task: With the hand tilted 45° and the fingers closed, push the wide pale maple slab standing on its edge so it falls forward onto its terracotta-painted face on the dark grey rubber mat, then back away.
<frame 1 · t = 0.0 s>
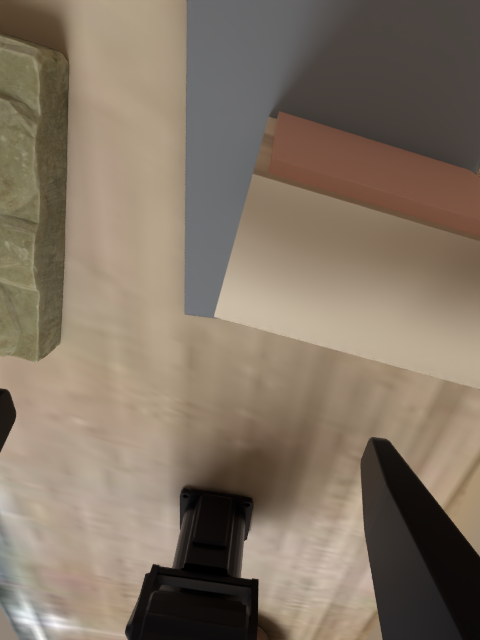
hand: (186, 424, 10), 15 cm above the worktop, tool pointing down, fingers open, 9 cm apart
maple block: (350, 193, 21), resting on rubber mat
rubber mat: (333, 129, 19), on the worktop
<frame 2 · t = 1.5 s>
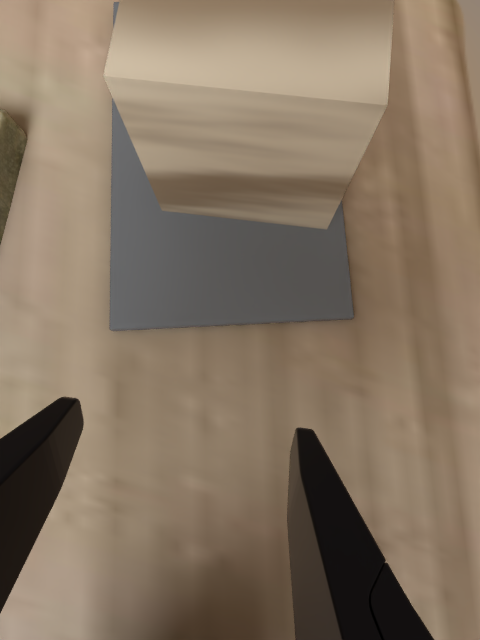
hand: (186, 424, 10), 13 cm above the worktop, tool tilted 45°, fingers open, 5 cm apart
maple block: (248, 185, 25), resting on rubber mat
rubber mat: (224, 151, 26), on the worktop
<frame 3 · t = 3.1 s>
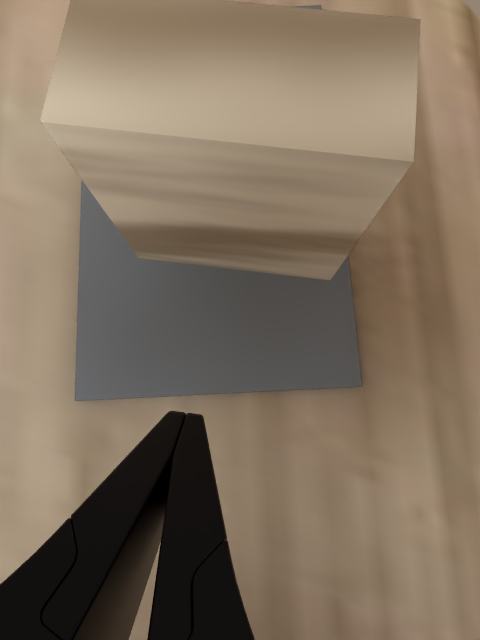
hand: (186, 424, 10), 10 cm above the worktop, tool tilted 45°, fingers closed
maple block: (238, 228, 22), resting on rubber mat
rubber mat: (211, 187, 23), on the worktop
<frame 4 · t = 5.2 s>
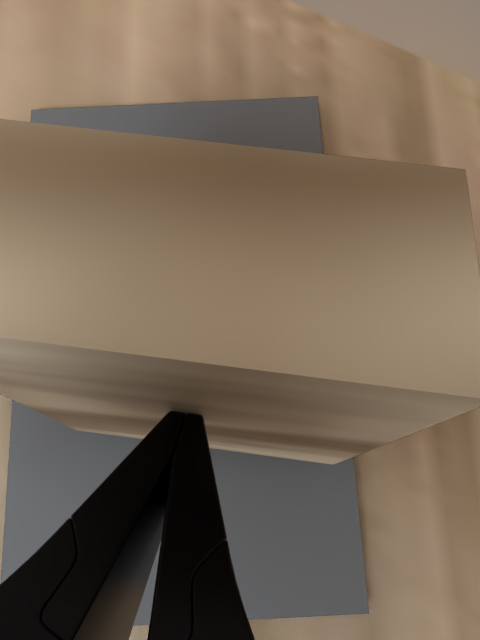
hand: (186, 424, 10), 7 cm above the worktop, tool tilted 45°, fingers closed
maple block: (212, 390, 17), point 1 cm above the worktop, tilted 13°, touching rubber mat
rubber mat: (180, 331, 18), on the worktop
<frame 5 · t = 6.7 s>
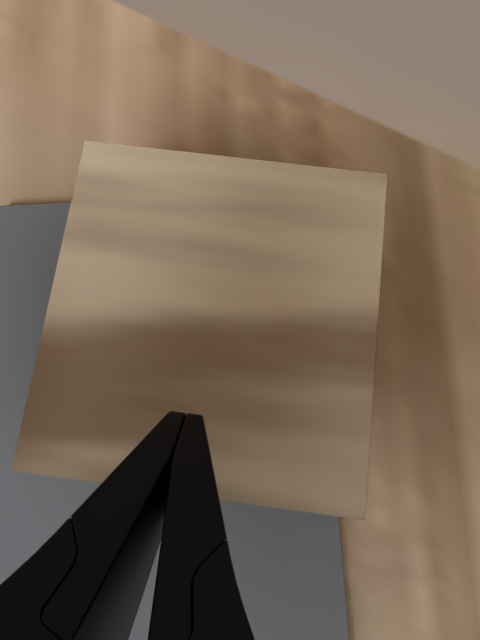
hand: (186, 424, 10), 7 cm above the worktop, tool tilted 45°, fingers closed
maple block: (194, 479, 14), point 3 cm above the worktop, tilted 90°, touching rubber mat
rubber mat: (159, 457, 17), on the worktop
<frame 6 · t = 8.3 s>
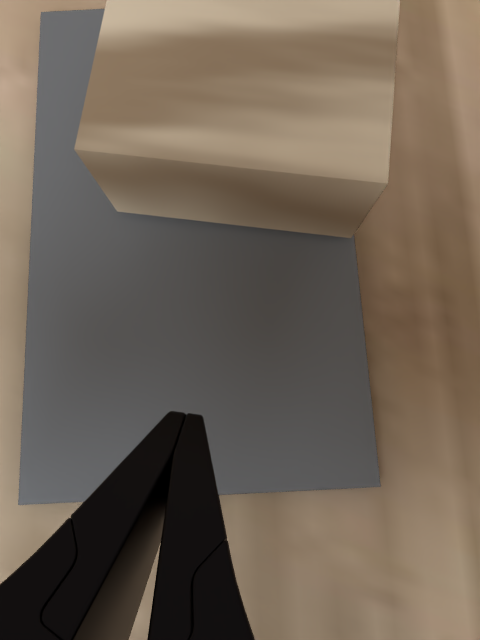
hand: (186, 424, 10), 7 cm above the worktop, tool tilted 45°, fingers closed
maple block: (231, 199, 15), point 3 cm above the worktop, tilted 90°, touching rubber mat
rubber mat: (192, 226, 18), on the worktop
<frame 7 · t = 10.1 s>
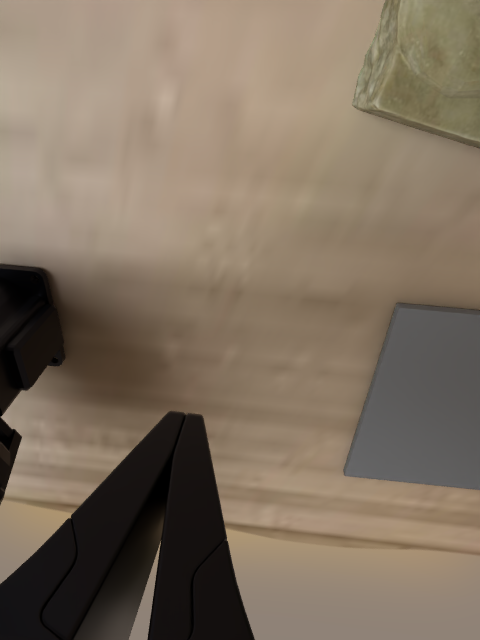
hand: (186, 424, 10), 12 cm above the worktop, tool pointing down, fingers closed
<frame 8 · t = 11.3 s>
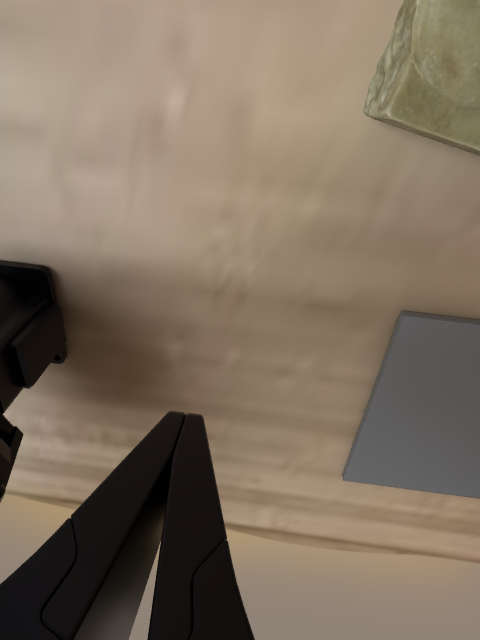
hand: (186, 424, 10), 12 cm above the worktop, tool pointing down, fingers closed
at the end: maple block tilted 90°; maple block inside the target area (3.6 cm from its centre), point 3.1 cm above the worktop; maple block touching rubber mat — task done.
